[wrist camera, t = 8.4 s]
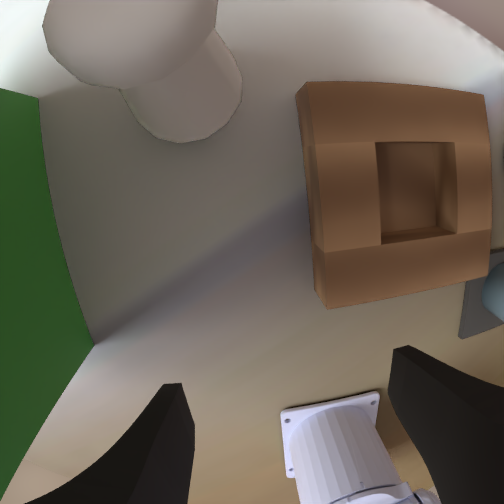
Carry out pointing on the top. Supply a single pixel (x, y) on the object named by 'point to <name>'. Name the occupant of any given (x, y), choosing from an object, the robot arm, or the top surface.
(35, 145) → the green cereal box
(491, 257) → the mat
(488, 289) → the peg
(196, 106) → the salt shaker
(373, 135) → the holder
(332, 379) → the top surface
